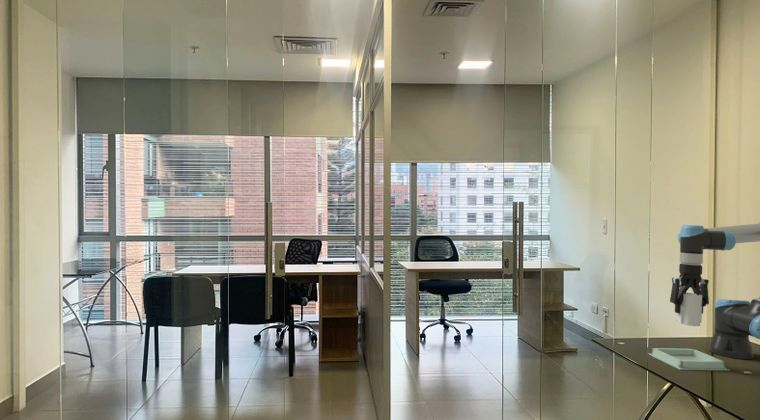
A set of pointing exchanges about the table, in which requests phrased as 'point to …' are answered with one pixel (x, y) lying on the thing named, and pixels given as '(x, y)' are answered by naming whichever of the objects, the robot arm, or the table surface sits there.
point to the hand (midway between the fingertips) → (688, 321)
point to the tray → (688, 359)
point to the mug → (691, 309)
